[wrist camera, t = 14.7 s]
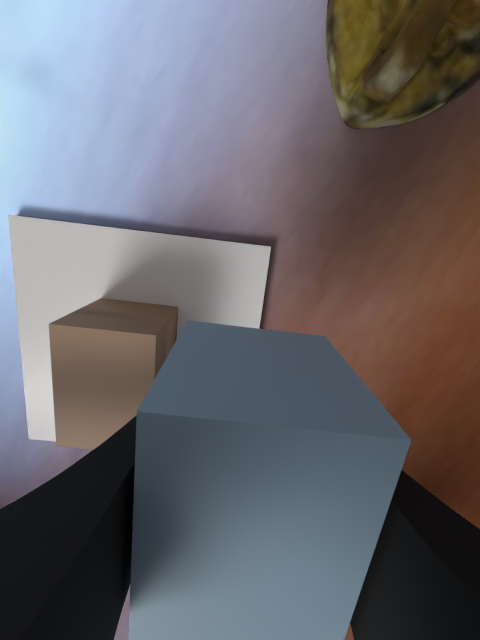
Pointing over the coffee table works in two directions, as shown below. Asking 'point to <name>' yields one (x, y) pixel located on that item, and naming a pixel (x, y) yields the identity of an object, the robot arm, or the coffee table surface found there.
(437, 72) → the olive-yellow oval lump
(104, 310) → the walnut brick
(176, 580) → the slate-blue brick
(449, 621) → the robot arm
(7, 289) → the coffee table surface
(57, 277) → the baseplate
